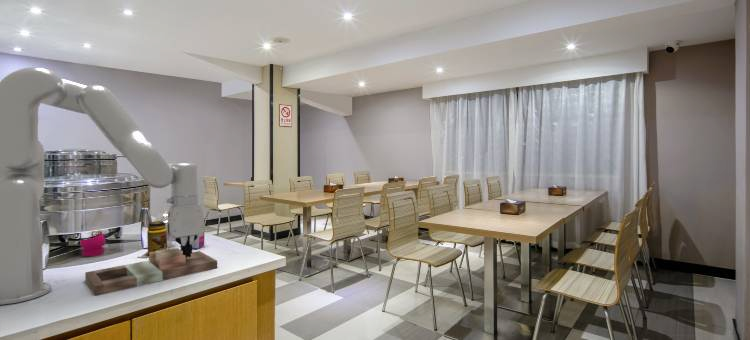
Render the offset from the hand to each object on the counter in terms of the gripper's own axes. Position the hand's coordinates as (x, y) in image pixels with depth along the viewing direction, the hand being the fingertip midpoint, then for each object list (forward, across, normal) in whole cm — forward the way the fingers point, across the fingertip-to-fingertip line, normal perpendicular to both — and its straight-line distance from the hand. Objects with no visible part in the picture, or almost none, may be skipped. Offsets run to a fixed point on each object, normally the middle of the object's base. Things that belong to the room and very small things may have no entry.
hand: (186, 256), depth 119 cm
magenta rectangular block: (+4, -19, +39) cm, 43 cm away
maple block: (+1, -5, 0) cm, 5 cm away
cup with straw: (+4, +3, +32) cm, 32 cm away
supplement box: (+4, +10, +23) cm, 26 cm away
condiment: (+4, -3, +23) cm, 23 cm away
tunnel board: (+4, -9, 0) cm, 10 cm away
